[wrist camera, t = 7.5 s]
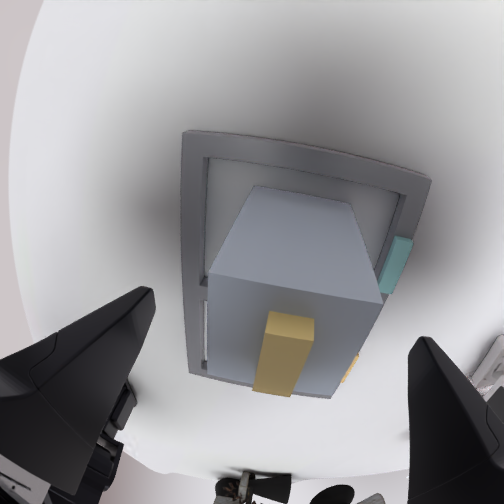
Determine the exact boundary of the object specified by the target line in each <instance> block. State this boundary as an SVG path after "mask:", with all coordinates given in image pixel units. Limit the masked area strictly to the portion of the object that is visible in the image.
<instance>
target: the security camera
mask: <svg viewBox="0 0 504 504" xmlns="http://www.w3.org/2000/svg"><path fill="white" fill-rule="evenodd" d="M472 380H473V383H474V387H475V389H477V388H482V387H486V386H490V385H493V386H492V388H491V389H490V390H489V391H488V392H487V394H486V395H485V396H484V397H483V398H484V400H485V401H486V402H487V404H488V405H489V406H490V407H491V409H492V410H493V411H494V412H495V414H496V415H497V416H498V417H499V419H500V420H501V421H502V422H503V423H504V335H500V336H498V337H497V339H496V341H495V342H494V344H493V345H492V347H491V349H490V350H489V352H488V354H487V355H486V357H485V358H484V360H483V361H482V363H481V364H480V366H479V367H478V369H477V370H476V371H475V373H474V374H473V376H472Z"/></svg>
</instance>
